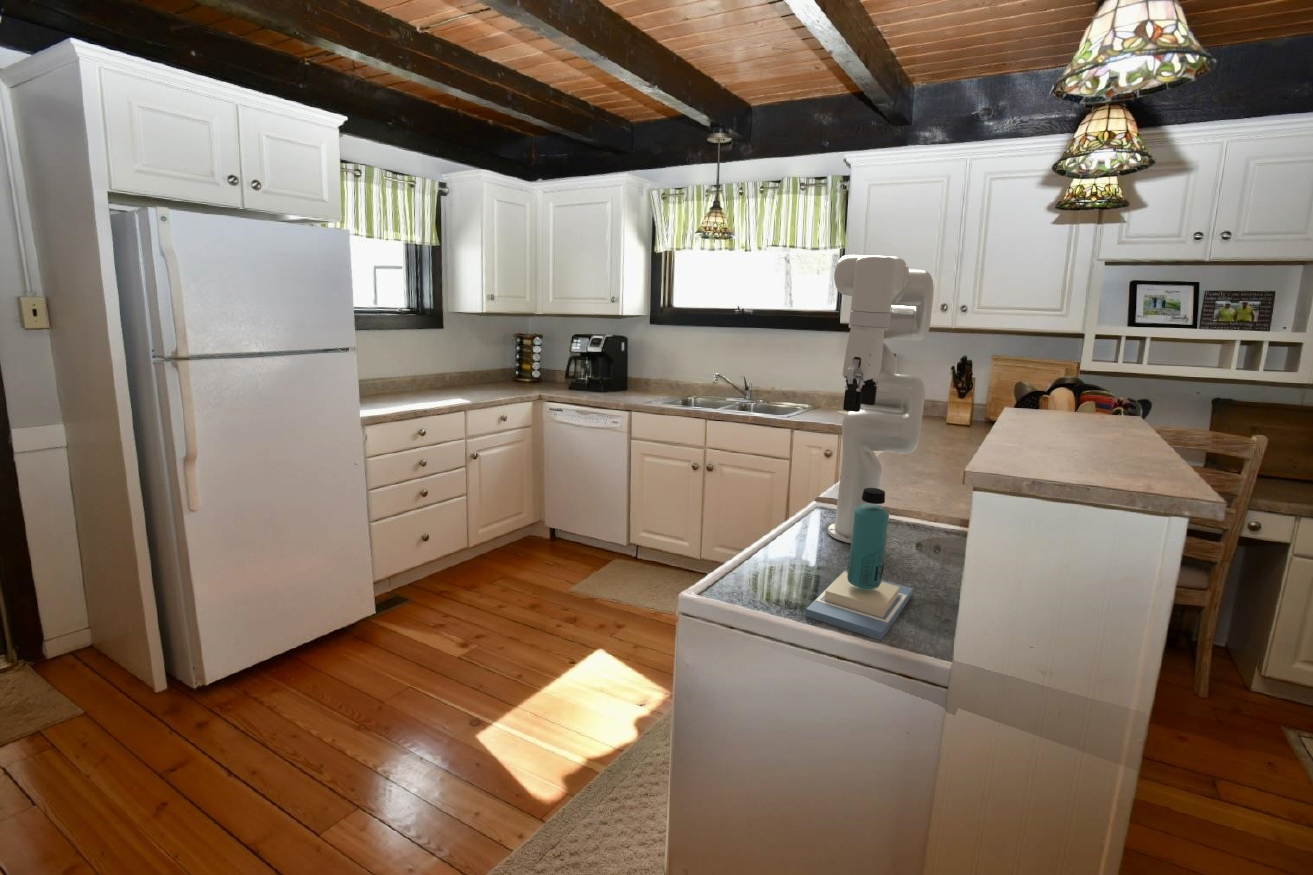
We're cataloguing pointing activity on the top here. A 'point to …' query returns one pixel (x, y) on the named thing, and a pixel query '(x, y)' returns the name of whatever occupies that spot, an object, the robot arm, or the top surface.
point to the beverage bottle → (868, 541)
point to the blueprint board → (856, 618)
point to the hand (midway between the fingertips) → (859, 407)
